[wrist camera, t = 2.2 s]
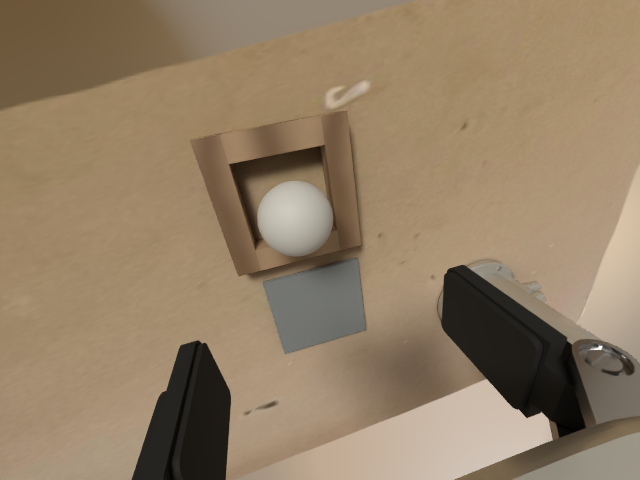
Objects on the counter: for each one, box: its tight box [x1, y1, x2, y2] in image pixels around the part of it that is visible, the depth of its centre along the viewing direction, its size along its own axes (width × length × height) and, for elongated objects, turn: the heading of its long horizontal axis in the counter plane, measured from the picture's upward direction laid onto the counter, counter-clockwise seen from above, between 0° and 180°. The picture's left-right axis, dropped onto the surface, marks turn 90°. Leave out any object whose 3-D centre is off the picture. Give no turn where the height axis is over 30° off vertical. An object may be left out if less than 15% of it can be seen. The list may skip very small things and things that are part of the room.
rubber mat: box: [263, 258, 366, 354], centre depth 36 cm, size 12×12×1 cm
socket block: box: [190, 111, 361, 276], centre depth 28 cm, size 14×14×2 cm
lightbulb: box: [257, 181, 333, 257], centre depth 24 cm, size 6×6×11 cm
